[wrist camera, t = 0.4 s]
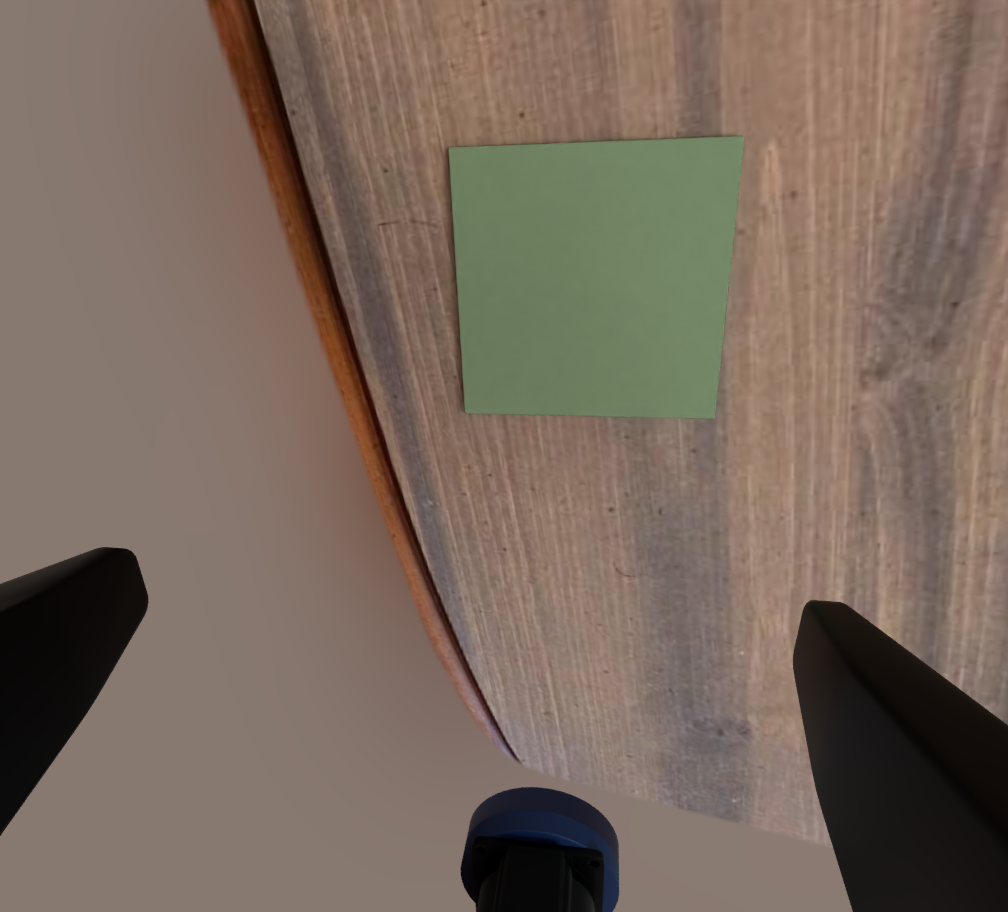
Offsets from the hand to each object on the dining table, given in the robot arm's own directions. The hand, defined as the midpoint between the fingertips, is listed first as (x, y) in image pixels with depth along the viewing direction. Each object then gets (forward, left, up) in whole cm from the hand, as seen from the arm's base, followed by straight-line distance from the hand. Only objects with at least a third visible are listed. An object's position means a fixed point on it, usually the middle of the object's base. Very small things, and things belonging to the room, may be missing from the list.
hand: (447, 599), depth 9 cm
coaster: (+2, -1, -14) cm, 14 cm away
